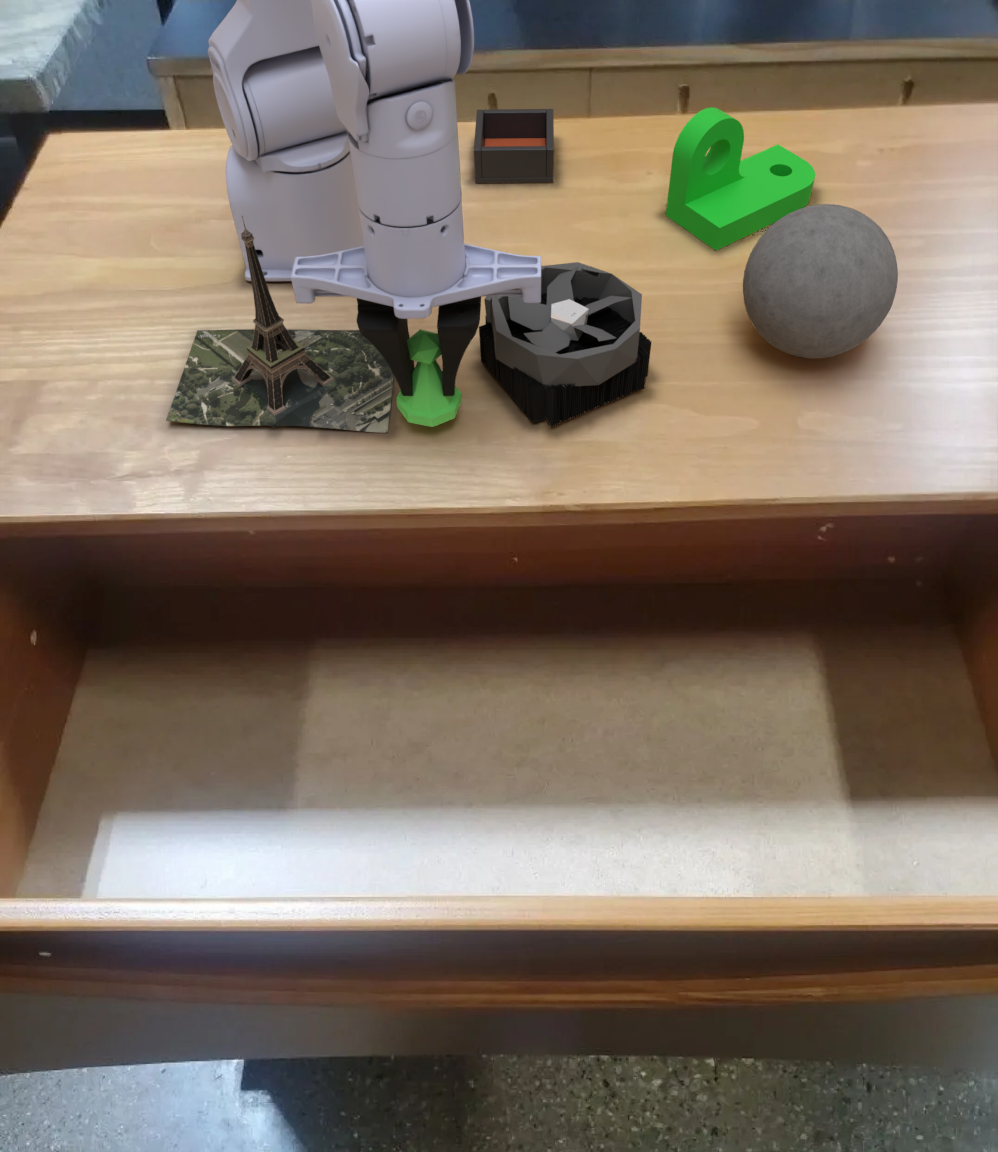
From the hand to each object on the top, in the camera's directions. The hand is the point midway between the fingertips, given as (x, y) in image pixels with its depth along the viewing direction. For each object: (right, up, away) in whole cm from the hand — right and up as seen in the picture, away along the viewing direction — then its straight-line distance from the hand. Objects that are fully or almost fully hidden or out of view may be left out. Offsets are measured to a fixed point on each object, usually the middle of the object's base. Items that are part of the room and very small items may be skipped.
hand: (428, 385), depth 67 cm
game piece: (0, -1, +1) cm, 2 cm away
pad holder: (+6, +23, +22) cm, 32 cm away
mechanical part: (+25, +18, +17) cm, 35 cm away
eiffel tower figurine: (-10, +1, +5) cm, 12 cm away
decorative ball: (+26, +4, +6) cm, 27 cm away
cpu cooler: (+9, +2, +5) cm, 11 cm away
